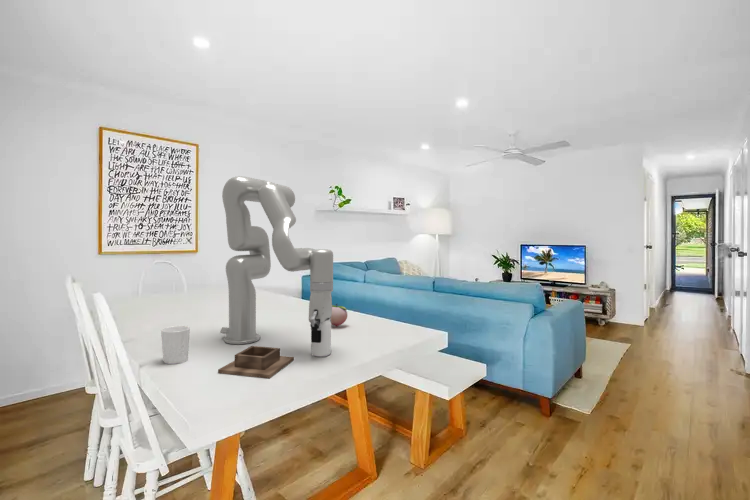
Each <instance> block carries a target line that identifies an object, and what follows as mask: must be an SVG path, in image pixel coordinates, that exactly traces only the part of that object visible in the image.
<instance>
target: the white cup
mask: <svg viewBox="0 0 750 500" xmlns="http://www.w3.org/2000/svg"><path fill="white" fill-rule="evenodd" d="M190 330H191V329H190V326H188V325H187V326H186V325H174V326H173V325H172V326H167V327H163V328H162V329H161V330H160V331H161V333H160V334H161V347H162V355H163V357H162V359H163V363H164V364H167V365H175V364H176V365H177V364H181V363H185V362H186V361H188V359H189V351H190V350H189V348H190V333H191V331H190Z"/></svg>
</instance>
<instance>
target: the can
mask: <svg viewBox="0 0 750 500" xmlns="http://www.w3.org/2000/svg"><path fill="white" fill-rule="evenodd" d="M318 321H320V320H318ZM317 325H318V324H317ZM320 330H321V342H320V343H315V342H310V343H311V344H310V345H311V346H310V349H311V350H310V351H311V352H310V353H311V355H312V356H313V357H315V358H325V357H328V356H330V355H331V353H332V351H331V349H332V348H331V347H332V324H331V322H330V318H329V319H328V320H325V322H323V323H321V328H320Z"/></svg>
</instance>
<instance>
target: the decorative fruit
mask: <svg viewBox="0 0 750 500" xmlns="http://www.w3.org/2000/svg"><path fill="white" fill-rule="evenodd" d="M347 319H348V308H346V307H345V306H342V305H338V303H336V305H333V304H332V316H331V326H332V325H333V326H335V327H337V328H338V326H341V325H343V324H344V323H345V322H346V321H347Z"/></svg>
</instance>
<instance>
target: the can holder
mask: <svg viewBox="0 0 750 500" xmlns="http://www.w3.org/2000/svg"><path fill="white" fill-rule="evenodd" d="M294 360H295V357H294V356H287V355H281V347H268V346H259V345H258V346H257V345H251V346H249V347H247V348H245V349H244V350H241V351H239V352H238V353H236V354H234V360H232V361H231V362H229V363H227V364H226V365H224V366H222V367H220V368H219V369H218V370H217V373H218V374H224V375H233V376H235V375H236V376H242V377H243V376H244V377H252V378H263V379H271V378H272V377H274V376H275V375H276V374H277V373H279V372H280V371H282V370H283V369H285V368H286V367H287V366H288V365H290V364H291V363H292V362H293V361H294ZM281 369H282V370H281Z"/></svg>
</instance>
